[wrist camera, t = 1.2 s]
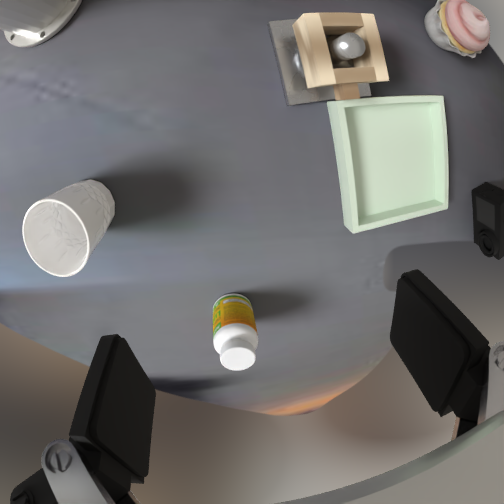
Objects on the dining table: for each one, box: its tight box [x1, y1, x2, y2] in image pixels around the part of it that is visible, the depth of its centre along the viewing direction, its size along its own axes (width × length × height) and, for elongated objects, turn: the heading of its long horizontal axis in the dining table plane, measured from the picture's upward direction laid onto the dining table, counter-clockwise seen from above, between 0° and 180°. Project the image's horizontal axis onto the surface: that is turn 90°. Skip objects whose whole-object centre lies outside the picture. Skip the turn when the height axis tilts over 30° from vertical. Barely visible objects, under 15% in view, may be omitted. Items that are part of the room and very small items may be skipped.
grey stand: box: [267, 19, 371, 106], centre depth 23 cm, size 10×10×9 cm
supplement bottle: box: [213, 294, 258, 370], centre depth 36 cm, size 5×5×10 cm
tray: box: [327, 95, 449, 233], centre depth 32 cm, size 16×16×3 cm
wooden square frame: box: [292, 13, 389, 100], centre depth 22 cm, size 9×7×4 cm
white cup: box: [23, 179, 115, 277], centre depth 27 cm, size 8×8×10 cm
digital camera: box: [472, 182, 504, 260], centre depth 36 cm, size 10×5×7 cm, turn 24°
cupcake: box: [424, 0, 490, 58], centre depth 21 cm, size 9×9×10 cm
